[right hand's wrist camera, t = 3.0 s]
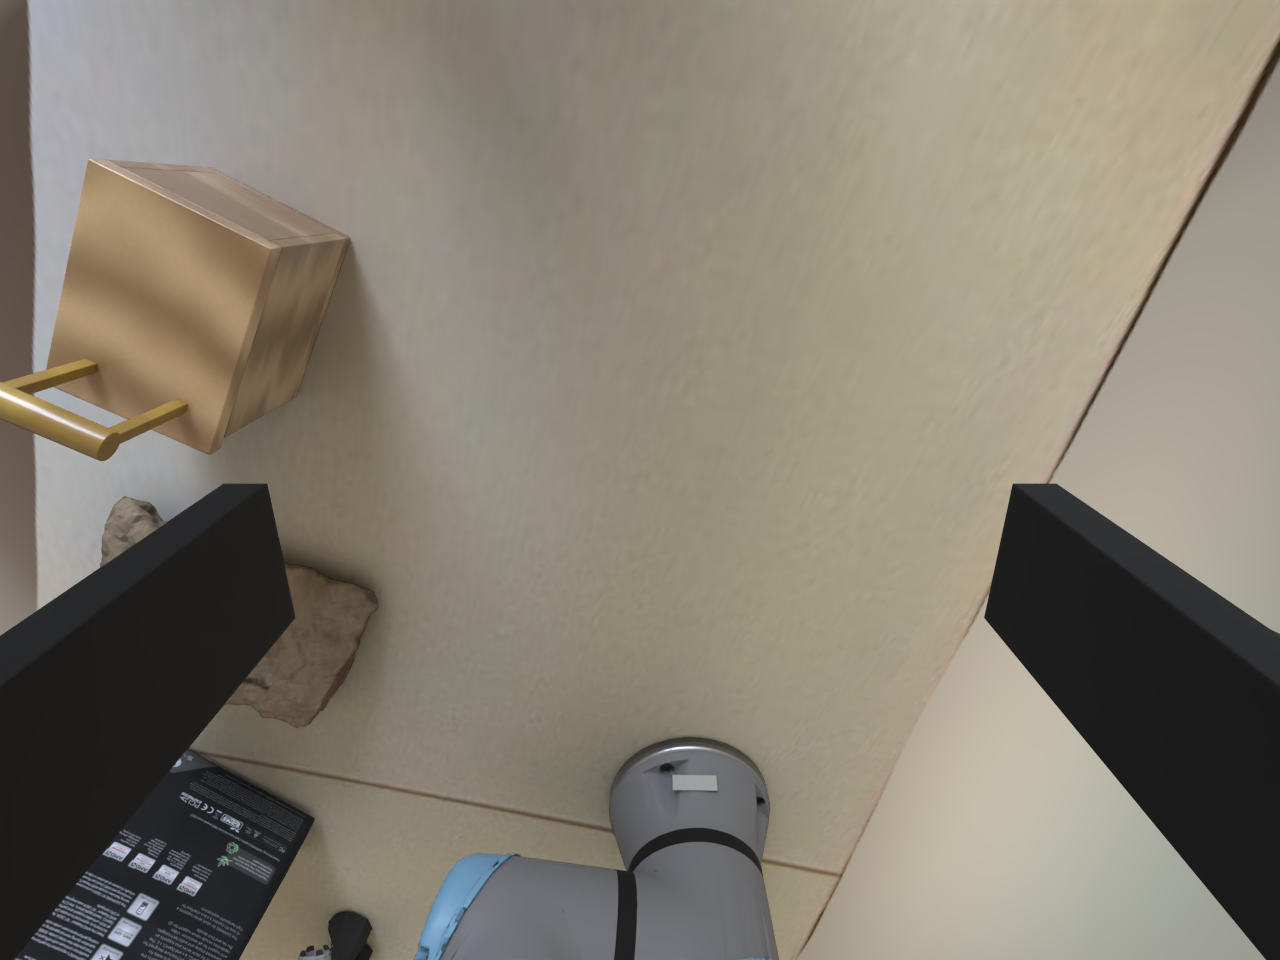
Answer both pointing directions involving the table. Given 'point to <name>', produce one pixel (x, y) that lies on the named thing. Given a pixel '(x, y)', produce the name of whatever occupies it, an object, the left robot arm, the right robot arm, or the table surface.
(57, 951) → the graphics card box
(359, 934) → the robot
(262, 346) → the chest
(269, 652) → the stone
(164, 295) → the lid
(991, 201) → the table surface
